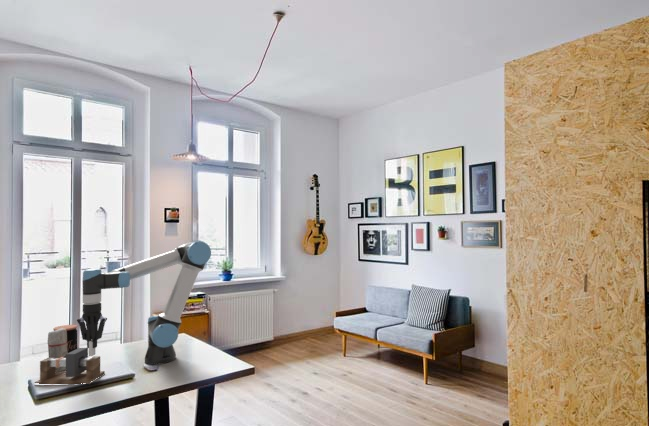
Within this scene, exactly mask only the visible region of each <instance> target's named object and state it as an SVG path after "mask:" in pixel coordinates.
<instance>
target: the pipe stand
mask: <svg viewBox="0 0 649 426" xmlns="http://www.w3.org/2000/svg"><path fill="white" fill-rule="evenodd" d="M91 357H92V358H90V359H88V360H86V371H84V372H82V373H81V374H79V375H77V376H75V377H66V371H59V372H56V367H49V360H50V359H51V358H56V357H49V356H48V357H47V358H44V359H42V360H40V361H39V379H38V380H36V381H34V383H39V384H81V383H82V384H83V383H86V384H89V383H90V382H91V381H93V380H95V379H96V378H98V377H100V376H101V377H103V376H104V375H105V370H103V371H102V370H101V356H100V355H93V356H91ZM93 357H94V358H93ZM103 374H104V375H103ZM102 375H103V376H102ZM101 377H100V378H101ZM98 379H99V378H98ZM96 380H97V379H96ZM96 380H95V381H96ZM93 382H94V381H93ZM90 384H91V383H90ZM90 384H89V385H90Z"/></svg>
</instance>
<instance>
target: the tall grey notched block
mask: <svg viewBox="0 0 649 426" xmlns="http://www.w3.org/2000/svg"><path fill="white" fill-rule="evenodd" d="M84 357H89V348H87V347H77V349H76V350H74V351H72V352H69V353H67V354H66V370H65V372H66V377H75V376H77V375H79V374H81V373H82V372H86V366H79V358H84Z"/></svg>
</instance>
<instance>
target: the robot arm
mask: <svg viewBox="0 0 649 426" xmlns="http://www.w3.org/2000/svg"><path fill="white" fill-rule="evenodd" d="M211 256H212V249H211V247H210V245H208V243H206V242H204V241H202V240H191V241H188V242H185V243H184V244H181V245H179V246H176V247H174V248H173V250H171V251H167V252H165V253H161V254H159V255H155V256H152V257H149V258H146V259H143V260H140V261H138V262H134V263H130V264H128V265H125V266H123V267H119V268H115V269H112V270H109V271H108V272H103V271H102V269H101V268H90V269H89V268H88V269H85V270H84V271H83V272H82V316H81V317H80V318H78V319H76V322H77V324H78V325H79V329H80V333H81V338H82V340H83V341H86V348H88V357H94V356H96V348H97V347H98V340H100V339H102V337H103V333H104V328H105V324H106V322H107V320H108V318H107V317H104V316H103V314H102V303H101V302H102V290H107V289H123V288H128V287H129V286H130V284H131V281H132V280H136V279H138V278H141V277H143V276H147V275H149V274H152V273H156V272H157V271H161V270H164V269H166V268H171V267H173V266H175V265H181V269H180V271H179V274H178V276H177V278H176V281H175V283H174V286H173V289H172V290H171V293H170V295H169V297H168V300H167V302H166V304H165V307H164V309H163V311H162V312H161V313H160V314H157V315H151V316H148V318H147V326H148V327H147V338H148V340H147V350H146V352H145V355H144V363H145V364H147V365H162V364H167V363H171V362H173V361H175V360H176V358H177V354H176V350H175V348H174V344H175V343H176V342H177V340H178V337H179V329H180V327H181V325H182V323H183V322H182V319H181V316H182V314H183V313H184V309H185V307H186V304H187V302H188V300H189V297H190V295H191V292H192V290H193V287H194V285H195V282H196V279H197V278H198V275H199V273H200V272H202V271H203V270H204V268H205V266H206V263H208V261H210V259H211Z"/></svg>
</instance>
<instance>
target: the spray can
mask: <svg viewBox="0 0 649 426" xmlns="http://www.w3.org/2000/svg"><path fill="white" fill-rule="evenodd" d="M47 350H48V351H47V352H48V358H49V357H56V358H60V357H64V358H66V354H67V353H68V349H67V331H66V329H64V328H60V329H57V330H55V331H54V330H53V331H49V332H48V334H47ZM65 371H66V367H59V368H56V372H65Z"/></svg>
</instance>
